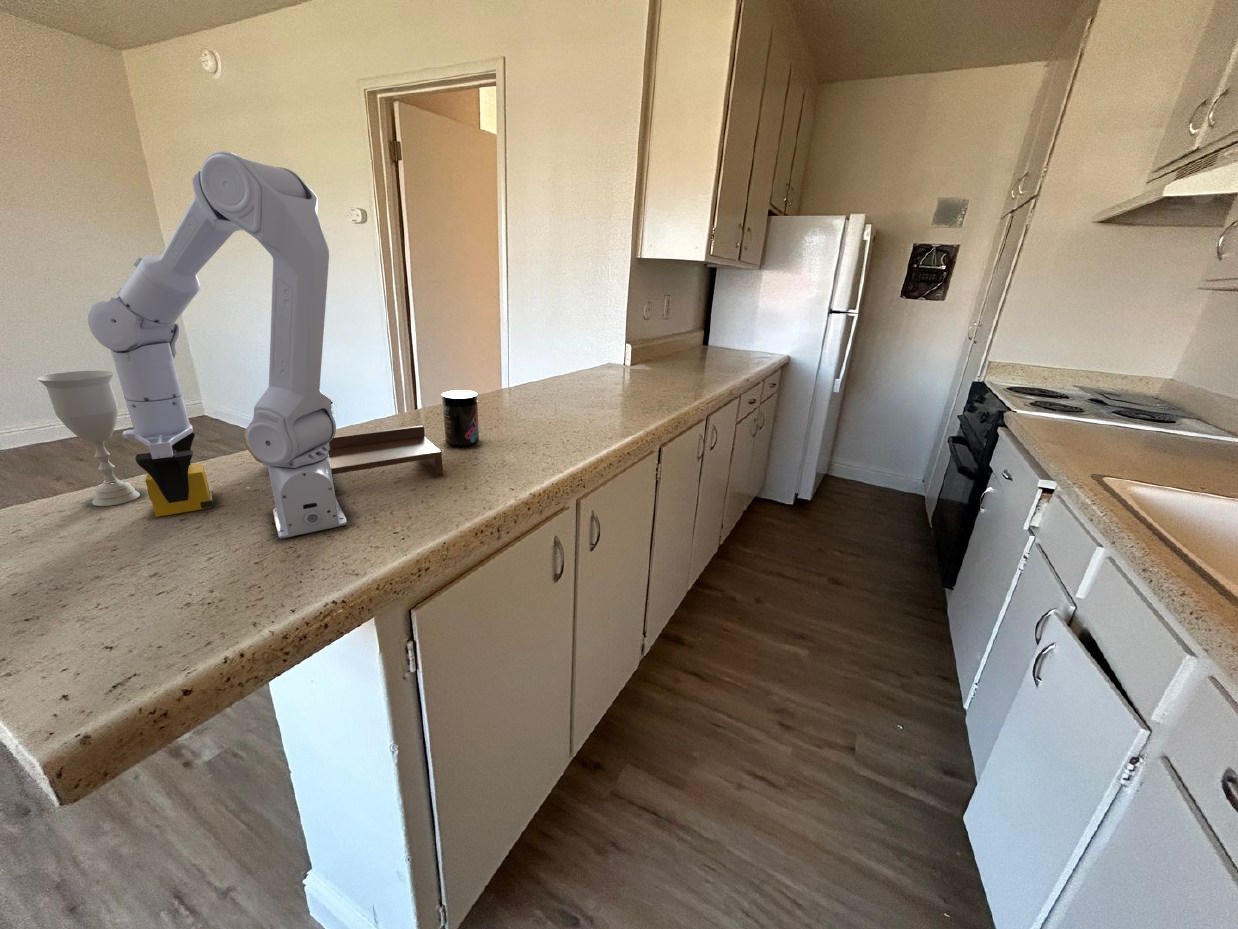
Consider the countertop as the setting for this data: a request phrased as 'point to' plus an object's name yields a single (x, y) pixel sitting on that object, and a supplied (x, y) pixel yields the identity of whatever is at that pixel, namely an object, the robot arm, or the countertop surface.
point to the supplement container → (461, 418)
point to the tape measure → (197, 497)
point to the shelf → (383, 450)
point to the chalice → (90, 422)
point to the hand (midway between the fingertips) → (180, 490)
